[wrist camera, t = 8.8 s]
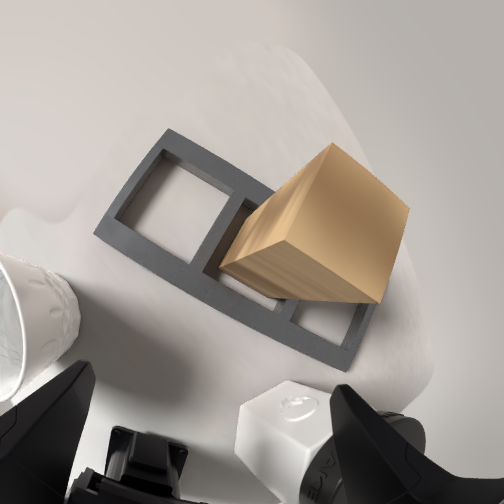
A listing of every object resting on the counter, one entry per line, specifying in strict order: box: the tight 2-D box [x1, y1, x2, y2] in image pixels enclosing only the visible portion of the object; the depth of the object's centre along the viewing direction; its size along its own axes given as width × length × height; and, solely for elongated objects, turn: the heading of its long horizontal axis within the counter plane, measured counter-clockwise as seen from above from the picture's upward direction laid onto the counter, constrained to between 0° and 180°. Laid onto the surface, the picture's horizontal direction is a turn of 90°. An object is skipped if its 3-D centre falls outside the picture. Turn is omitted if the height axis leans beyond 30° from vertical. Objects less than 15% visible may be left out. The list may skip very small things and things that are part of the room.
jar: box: [234, 380, 426, 504], centre depth 15 cm, size 9×8×12 cm
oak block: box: [217, 142, 409, 304], centre depth 16 cm, size 4×4×13 cm
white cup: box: [0, 253, 81, 403], centre depth 12 cm, size 8×8×10 cm
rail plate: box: [93, 128, 376, 372], centre depth 21 cm, size 10×23×2 cm, turn 62°
